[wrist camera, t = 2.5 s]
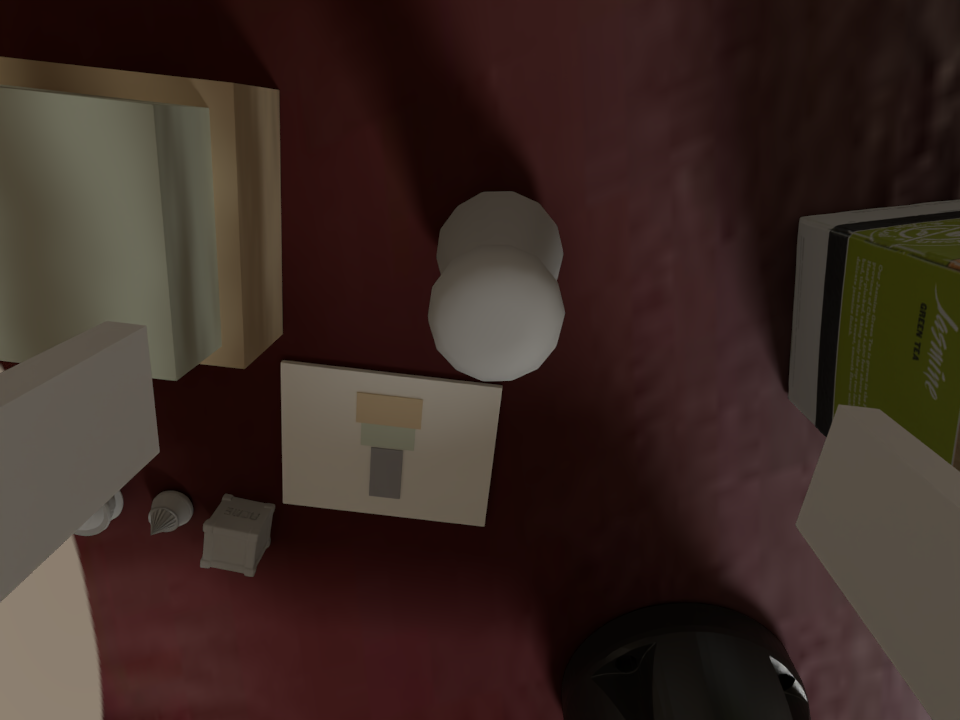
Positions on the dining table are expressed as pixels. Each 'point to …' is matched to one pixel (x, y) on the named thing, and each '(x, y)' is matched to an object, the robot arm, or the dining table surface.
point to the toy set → (204, 527)
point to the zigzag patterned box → (139, 213)
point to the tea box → (881, 319)
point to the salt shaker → (497, 287)
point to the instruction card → (387, 442)
